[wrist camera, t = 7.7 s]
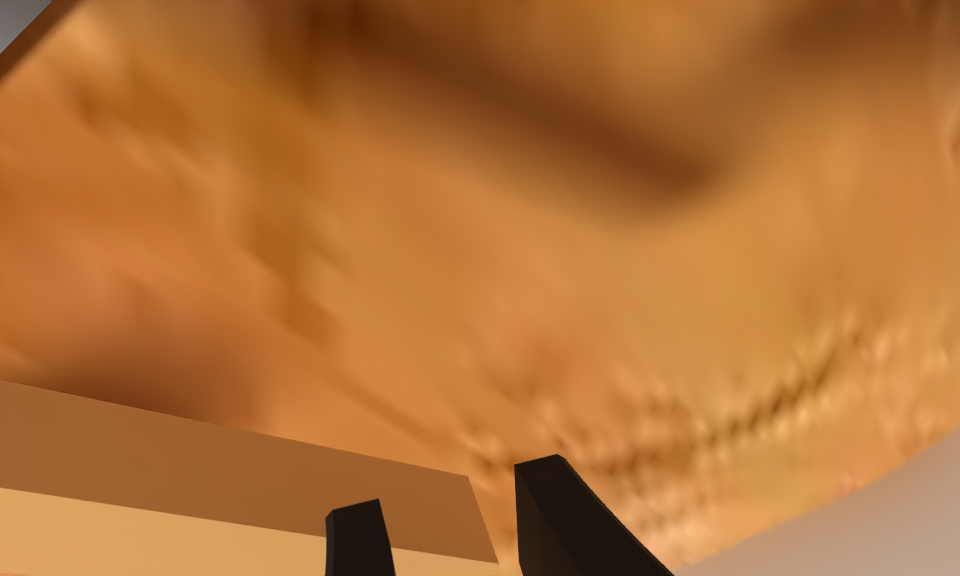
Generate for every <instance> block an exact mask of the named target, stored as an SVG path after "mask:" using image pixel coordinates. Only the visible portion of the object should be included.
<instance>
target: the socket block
mask: <svg viewBox="0 0 960 576" xmlns="http://www.w3.org/2000/svg"><path fill="white" fill-rule="evenodd" d="M52 1H53V0H0V53H1V52H2V51H3V50H4V49H5V48H6V47H7V46H8V45H9V44H10V43H11V42H12V41H13V40H14V39H15V38H16V37H17V36H18V35H19V34H20V33H21V32H22V31H23V30H24V29H25V28H26V27H27V26H28V25H29V24H30V23H31V22H32V21H33V20H34V19H35V18H36V17H37V16H38V15H39V14H40V13H41V12H42V11H43V10H44V9H45V8H46V7H47V6H48V5H49V4H50V3H51V2H52Z"/></svg>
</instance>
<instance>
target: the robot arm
mask: <svg viewBox="0 0 960 576" xmlns="http://www.w3.org/2000/svg"><path fill="white" fill-rule="evenodd" d="M514 470H515V491H516V511H517V532H518V553H519V564H520V567H521V570H522V573H523V576H674V575H673V574H672V573H671V572H670V571H669V570H668V569H667V568H666V567H665V566H664V565H663V564H662V563H661V562H660V561H659V560H658V559H657V558H656V557H655V556H654V555H653V554H652V553H651V552H650V551H649V550H648V549H647V548H646V547H645V546H644V545H643V544H642V543H641V542H640V541H639V540H638V539H637V538H636V537H635V536H634V535H633V534H632V533H631V532H630V531H629V530H628V529H627V528H626V527H625V526H624V525H623V524H622V523H621V522H620V521H619V519H618V518H617V517H616V516H615V515H614V514H613V513H612V512H611V511H610V510H609V509H608V508H607V507H606V506H605V504H604V503H603V502H602V501H601V500H600V499H599V498H598V497H597V496H596V494H595V493H594V492H593V491H592V490H591V489H590V488H589V486H588V485H587V484H586V483H585V482H584V481H583V480H582V478H581V477H580V476H579V475H578V474H577V472H576V471H575V470H574V469H573V468H572V466H571V465H570V464H569V463H568V462H567V460H566V459H565V458H563V457H562V456H560V455H558V454H555V455H551V456H547V457H543V458H539V459H535V460H531V461H527V462H523V463H519V464H515V465H514ZM325 524H326V567H325V576H396V572H395V567H394V561H393V556H392V550H391V545H390V541H389V537H388V533H387V529H386V525H385V521H384V517H383V513H382V509H381V505H380V501H379V498H378V499H374V500H370V501H366V502H362V503H358V504H354V505H350V506H346V507H342V508H337V509H333V510H332V511H331V512H330V513H329V514H328V515H327V516H326V517H325Z"/></svg>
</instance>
